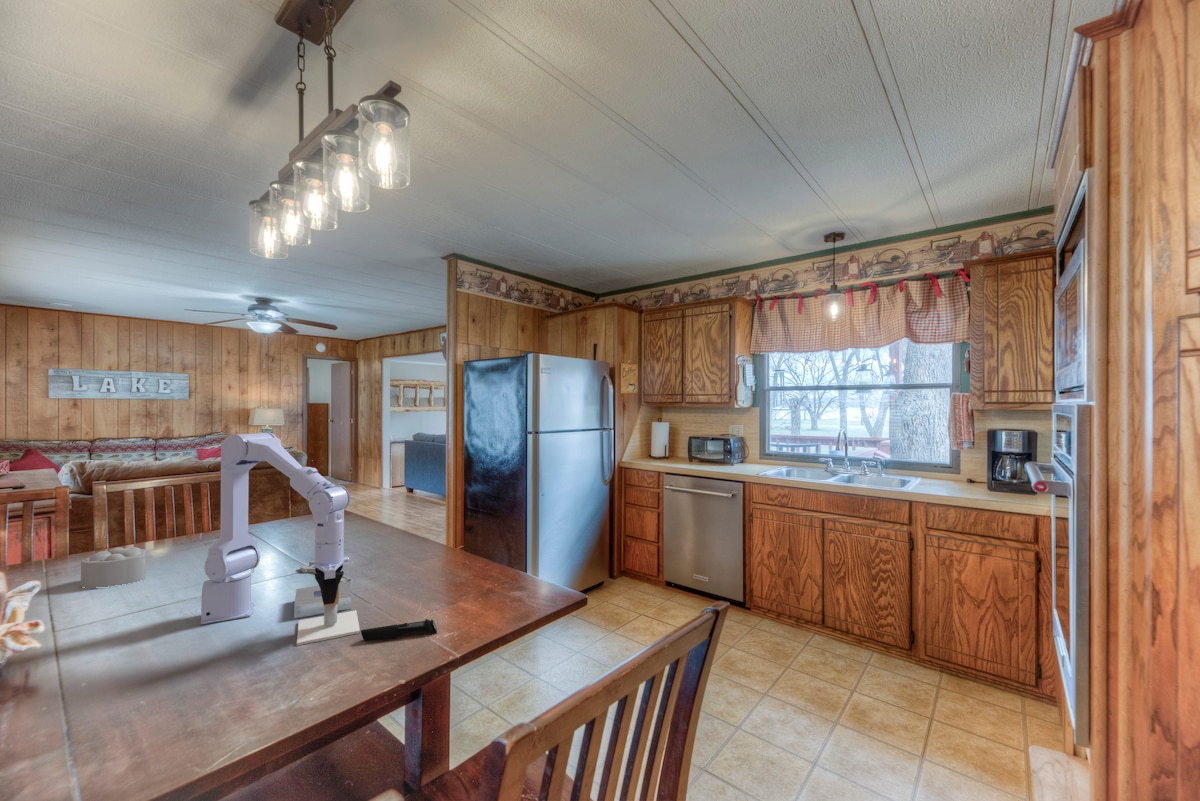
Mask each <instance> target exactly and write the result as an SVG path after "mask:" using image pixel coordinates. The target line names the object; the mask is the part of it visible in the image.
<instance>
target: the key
mask: <svg viewBox="0 0 1200 801" xmlns="http://www.w3.org/2000/svg"><path fill="white" fill-rule="evenodd" d="M338 603H339V585H338V589H337V594H336V599H335V602H334V603H333V604H327V605H324V603H323V606H324V614H323V616H324V624H325V625H332V624H335V623H336V622H337V614H338V611H337V604H338Z"/></svg>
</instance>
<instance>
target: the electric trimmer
mask: <svg viewBox="0 0 1200 801" xmlns="http://www.w3.org/2000/svg"><path fill="white" fill-rule="evenodd" d="M436 628H437V626H436V623H435V621H434V620H433V619H431V620H430V619H428V618H426V619H425V620H422V621H415V622H408V623H407V622H405V623H398V624H392V625H384V626H377V627H372V628H366V629H365V628H364V629H360V634H361V637H362V639H363V641H365V642H375V641H392V640H396V639H399V638H403V637H413V636H419V635H426V634H427V635H428V634H431V635H432V634H434V633H435V634H438V632H437V629H436ZM435 634H434V635H435Z"/></svg>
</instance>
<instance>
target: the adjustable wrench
mask: <svg viewBox="0 0 1200 801" xmlns="http://www.w3.org/2000/svg"><path fill="white" fill-rule="evenodd" d="M314 561H315V560H313V561H312V560H311V561H309V562H308V563H309V564H308V565H306V564H301V565H300V569H299V570H300V572H301V571H302V572H301V573H302V574H306V573H307V574H308V572H313V573H312V574H316V571H315V568H316V567H315V566H314ZM346 581H349V586H351V585H353V578H350V577H348V576H347V575H343V577H342V578H341V580H340V582H346ZM350 584H351V585H350Z"/></svg>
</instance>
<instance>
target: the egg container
mask: <svg viewBox="0 0 1200 801" xmlns="http://www.w3.org/2000/svg"><path fill="white" fill-rule="evenodd" d="M146 552H147V551H146V549H144V548H140V547H136V546H133V547H132V546H131V547H127V548H123V547H121V546H120V547H118V546H117V547H114V548H111V549H109V550H108V551H107V550H102V551H98V552H95V553H94V554H93V555H91V557H86V558H84V559H82V560H81V561H80V588H81V587H85V588H96V587H108V586H115V585H121V586H123V585H122V584H126V585H129V584H128V583H131V584H134V583H133V582H136V583H138V582H137V581H139V582H141V581H140V580H142V581H144V580H146V573H147V572H146V570H147V569H146V568H147V567H146V565H147V564H146V560H147V555H146ZM143 579H144V580H143ZM115 587H116V586H115Z"/></svg>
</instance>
